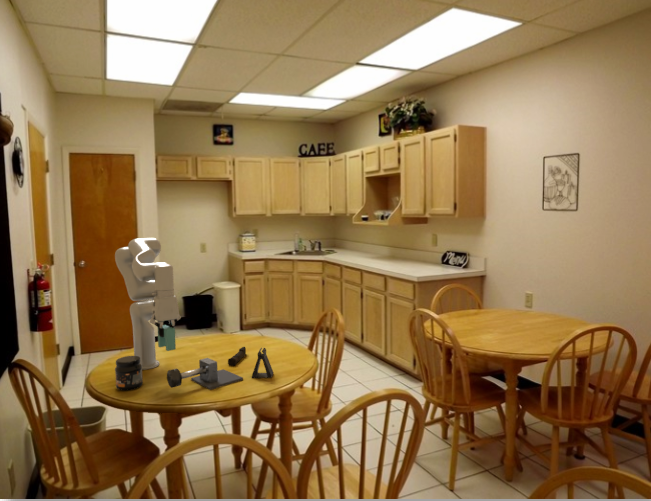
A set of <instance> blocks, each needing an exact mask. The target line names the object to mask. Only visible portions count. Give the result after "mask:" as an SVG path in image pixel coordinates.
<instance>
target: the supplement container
mask: <svg viewBox="0 0 651 501" xmlns="http://www.w3.org/2000/svg"><path fill="white" fill-rule="evenodd" d="M140 362H141V360H140V357H139V356H134V355H125V356H122V357H119V358H117V359H116V360H115V368H114V371H115V372H114V373H115V388H116V389H117V390H118V391H123V392H124V391H126V392H127V391H133V390H136V389H139V388H140V387H141V386H143V383H144V382H143V370H142V364H141V363H140Z"/></svg>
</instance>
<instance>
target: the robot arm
mask: <svg viewBox="0 0 651 501" xmlns="http://www.w3.org/2000/svg"><path fill="white" fill-rule="evenodd" d="M128 242H129V243H128V245H127V246H123V247H120V248H118V249H117V250H115V254H114V259H115V260H114V261H115V264H116V267H117V269H118V271H119V272H120V275H122V277H123V279H124V284H125V287H126V290H127V294H128V297H129V299H130V300H131V301H133V303H131V304H130V306H129V314H130V319H131V324H132V334H133V335H132V338H133V340H132V341H133V356H139V357H140V360H141V362H140V363H141V364H142V371H144V370H152V369H154V368H156V367H159V366H160V361H159V360H157V358H156V357H157V356H156V338H155V337H156V336H155V334H156V333H155V328H154V326H153V325H155V327H157V334H158V333H159V336H160V337H164V328H163V325H164V322H165V321H166V322H167V321H168V326H169V327H172V328H175V327H174V326H175V325H176V323H177V322H178V321H179V320H181V318H182V316H181V314H180V312H179V311H180V309H179V303H178V302H179V301H178V298H177V295H175V286H174V285H175V283H174V266H173V265H172V264H169V263H168V262H166V261H165V262H164V261H163V262H162V261H161V262H155V259H156V258H157V257H158V256H159V255H160V254H161V251H162V245H161V242H160V241H159V239H158V238H155V237H144V238H143V237H139V238H133V239H132V240H130V241H128Z"/></svg>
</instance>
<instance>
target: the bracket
mask: <svg viewBox="0 0 651 501" xmlns="http://www.w3.org/2000/svg"><path fill="white" fill-rule="evenodd" d="M198 366H199V368H202V367H206V373H202V374H199V376H200V379H201V380H203V381H205V382H207V383H209V384H210V383H214V382H217V381H218V371H219V370H218V361H216V360H214V359H211V358H210V357H206V358H201V359H199V365H198Z"/></svg>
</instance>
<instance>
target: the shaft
mask: <svg viewBox="0 0 651 501" xmlns="http://www.w3.org/2000/svg"><path fill="white" fill-rule="evenodd" d="M202 373H206V367H202V368H200V367H198V368H195V369H191V370H188V371H185V372H181V371H180V370H179V369H178V368H172V369H169V370H168V371H167V373H166V380H167V383H168V385H169V387H170V388H176V387H179V386H182V381H183V380H184V379H187V378H192V377H196V376H200V374H202Z"/></svg>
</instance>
